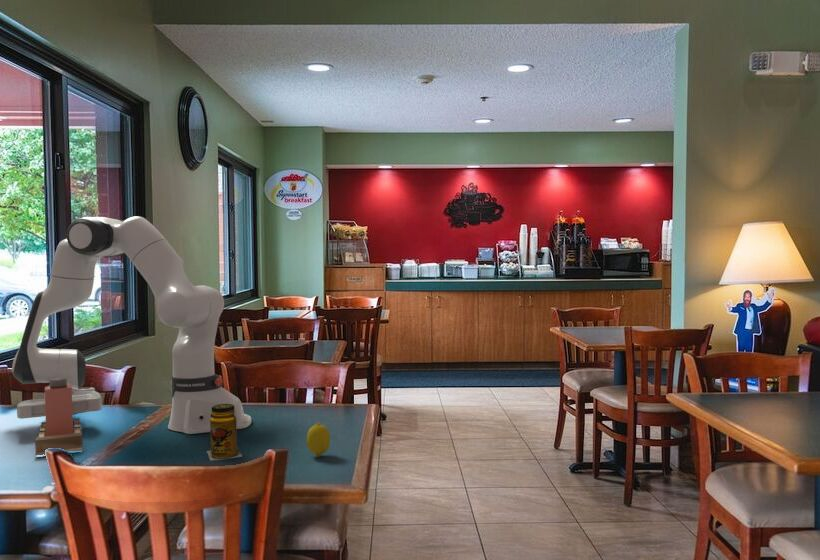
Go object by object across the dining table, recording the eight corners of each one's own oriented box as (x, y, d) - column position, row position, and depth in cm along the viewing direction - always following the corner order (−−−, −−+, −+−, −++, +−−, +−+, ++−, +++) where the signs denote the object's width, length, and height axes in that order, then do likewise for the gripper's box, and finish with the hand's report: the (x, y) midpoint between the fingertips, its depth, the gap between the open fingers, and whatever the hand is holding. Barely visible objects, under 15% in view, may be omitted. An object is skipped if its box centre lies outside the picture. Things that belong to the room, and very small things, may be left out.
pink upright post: (47, 436, 176) (45, 378, 175) (73, 433, 178) (71, 376, 178) (46, 441, 171) (44, 381, 171) (73, 438, 174) (71, 379, 173)
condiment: (210, 461, 158) (209, 410, 157) (206, 451, 166) (205, 402, 165) (242, 457, 161) (241, 407, 160) (237, 448, 169) (236, 400, 168)
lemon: (307, 453, 163) (307, 420, 163) (331, 452, 164) (330, 419, 163) (306, 460, 158) (305, 426, 157) (330, 459, 158) (329, 425, 158)
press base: (40, 434, 183) (39, 418, 183) (81, 429, 188) (80, 414, 187) (35, 458, 162) (35, 440, 162) (82, 452, 166) (81, 435, 166)
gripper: (17, 394, 185) (13, 404, 172) (100, 386, 194) (102, 395, 181) (18, 417, 185) (14, 429, 172) (101, 408, 194) (102, 419, 181)
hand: (60, 411), depth 177 cm, fingers closed, pressing on pink upright post
